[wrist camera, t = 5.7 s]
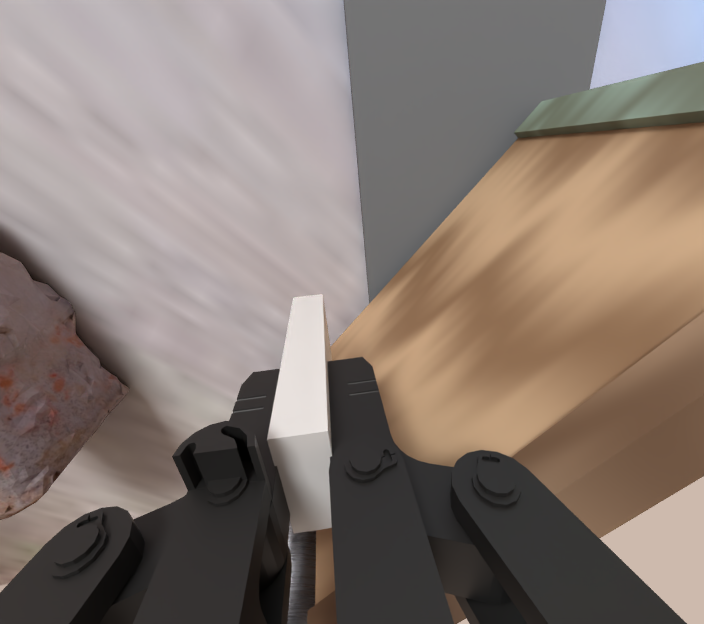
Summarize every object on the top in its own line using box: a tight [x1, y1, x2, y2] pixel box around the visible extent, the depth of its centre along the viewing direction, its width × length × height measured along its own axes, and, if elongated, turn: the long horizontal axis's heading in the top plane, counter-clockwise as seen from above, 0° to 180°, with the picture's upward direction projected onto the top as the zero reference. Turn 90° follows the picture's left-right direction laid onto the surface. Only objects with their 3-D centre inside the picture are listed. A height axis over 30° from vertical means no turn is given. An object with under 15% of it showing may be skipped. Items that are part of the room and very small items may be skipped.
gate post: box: [287, 523, 316, 624], centre depth 15 cm, size 3×3×14 cm
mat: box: [344, 0, 606, 304], centre depth 17 cm, size 11×16×1 cm
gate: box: [307, 62, 704, 624], centre depth 11 cm, size 17×2×13 cm, turn 140°
